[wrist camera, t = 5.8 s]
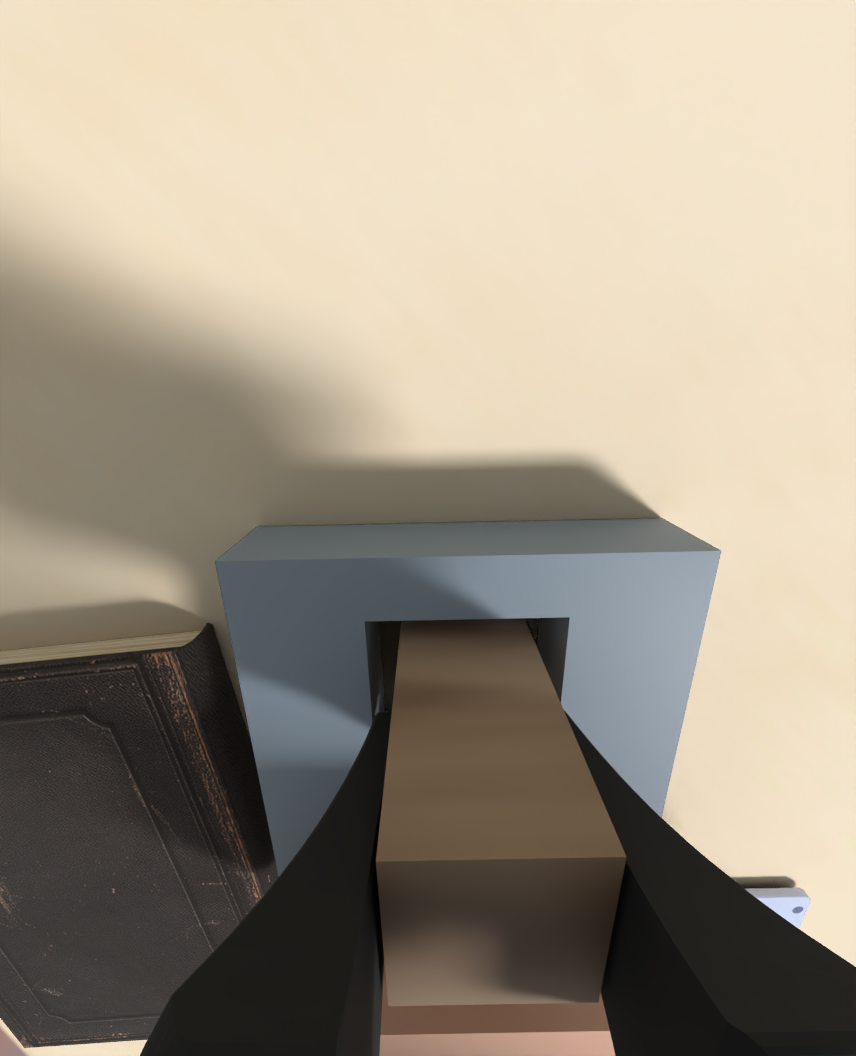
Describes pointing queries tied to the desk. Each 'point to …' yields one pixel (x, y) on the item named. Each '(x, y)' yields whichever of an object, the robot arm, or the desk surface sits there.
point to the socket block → (454, 594)
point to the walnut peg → (489, 828)
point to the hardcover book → (120, 831)
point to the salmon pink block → (495, 1029)
